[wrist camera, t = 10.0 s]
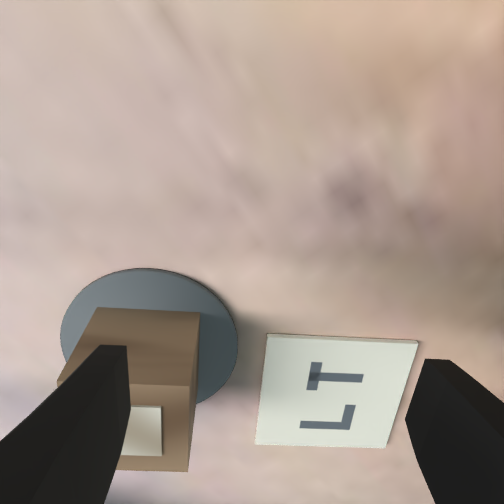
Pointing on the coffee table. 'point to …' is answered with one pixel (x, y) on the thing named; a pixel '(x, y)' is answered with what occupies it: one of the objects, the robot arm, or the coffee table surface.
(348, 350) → the tile
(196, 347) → the walnut block
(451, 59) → the coffee table surface
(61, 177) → the coffee table surface
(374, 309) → the coffee table surface
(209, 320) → the slate coaster
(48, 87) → the coffee table surface
